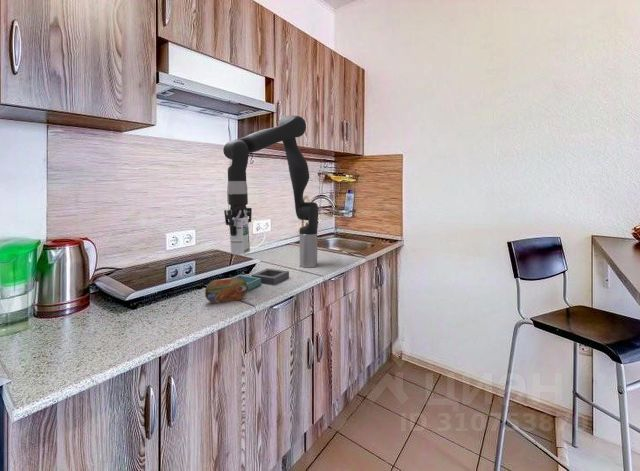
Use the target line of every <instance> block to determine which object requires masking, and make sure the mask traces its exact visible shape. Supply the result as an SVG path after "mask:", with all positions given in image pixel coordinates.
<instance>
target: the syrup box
mask: <svg viewBox="0 0 640 471" xmlns="http://www.w3.org/2000/svg"><path fill="white" fill-rule="evenodd" d="M248 219H249V217H248V218H245V217H243V218H238V221H237V223H236V236H231V233H230V232H229V238H230V239H229V240H230V254H232V255H245V254H248V253H249V252H250V251H251V249H250V248H251V247H250V231H249V230H250V229H249V224H248ZM232 222H233V223H234V221H232ZM228 228H229V229H230V226H229V225H228Z"/></svg>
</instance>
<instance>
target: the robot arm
mask: <svg viewBox="0 0 640 471" xmlns="http://www.w3.org/2000/svg"><path fill="white" fill-rule="evenodd" d="M306 130H307V123H306V120H305V119H304V118H303V117H301V116H300V115H282V116H281V118H280V119H279V122H278V126H274V127H270V128H265V129H260V130H258V131H255V132H253V133H252V132H251V133H250V134H248V135H246V136H243V137H240V138H237V139H233V140H230V141H228V142H226V143H225V145H223V146H224V147H223V149H222V150H223V154H224V156H225V157H226V158H227V159H229V160H231V165H230V166H229V167H228V168H227V197H228V198H227V199H228V200H227V202H228V203H227V204H228V205H229V206H230V207H229V209H224V211H223V212H224V221H225V225H226V226H228V227H229V226H230V228H229V234H230V233H231V236H236V223H237V221H238V218H243V217H245V218H248V225H250V224H249V223H251V222H252V216H253V215H252V207H247V205H248V204H249V200H248V199H249V196H248V184H247V183H248V182H247V168H248V163H249V156H250V154H252V153H256V152H259V151H260V150H264V149H265V148H267V147H270V146H272V145H275V144H277V143H280V142H282V143H283V147H284V152H285V157H286V160H287V165H288V171H289V177H290V180H291V186H292V192H293V198H294V199H293V200H294V209H295V215H296V217H297V219H298V220H301V221H308V224H306V225H304V226H301V227H300V228H299V230H298V231H299V232H298V234H299V235H298V236H299V266H300V267H302V268H315V267H317V266H318V229H319V206H318V203H317V202H314V201H313V202H311V201H309V202H308V201H305V200H304V193H305V190H306V187H307V185H308V183H309V180H310V171H309V170H310V169H309V166H308V161H307V160H306V158H305V157H304V155H303V154H302V152H301V150H300V148H299V146H298V143H297V138H300V137H302V136H303V135H304V134H305V133H306ZM232 221H234V223H233V222H232Z"/></svg>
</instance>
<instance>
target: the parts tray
mask: <svg viewBox="0 0 640 471" xmlns="http://www.w3.org/2000/svg"><path fill="white" fill-rule="evenodd" d="M234 277H238V278H241V279H243V280H244V281H245V282H246V283H247V285H248V292H250V291H252V290H254V289H255V288H258V287H260V286H262V283H261V278H256V277H251V276H248V275H244V274H243V275H242V274H238V275H235V276H233V277H232V278H234Z"/></svg>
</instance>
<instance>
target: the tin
mask: <svg viewBox="0 0 640 471" xmlns="http://www.w3.org/2000/svg"><path fill="white" fill-rule="evenodd" d="M233 277H234V278H233ZM233 277H228V278H222V279H221V278H220V279H214V280H211V281H210V282H209V283H208V284H207V285H206V287H205V290H204V295H205V298H206V300H207V301H209V302H210V303H212V304H222V303H229V302H234V301H235V302H236V301H239V300H242V299H244V298H245V297H246V295H247V294H248V292H249V291H248V285H247V283H246V282H245V281H244V280H243V279H241V278H238V277H235V276H233Z"/></svg>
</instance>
